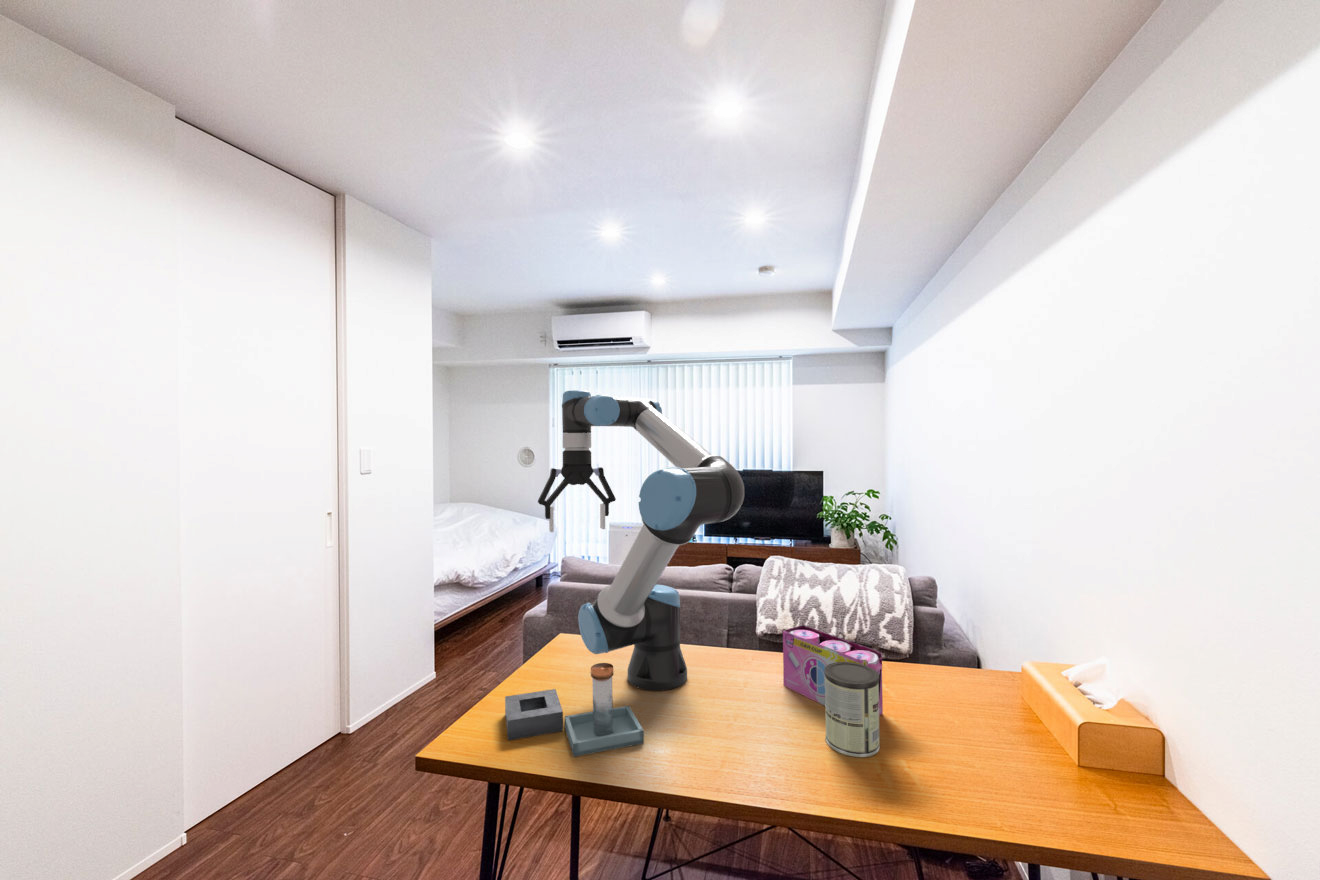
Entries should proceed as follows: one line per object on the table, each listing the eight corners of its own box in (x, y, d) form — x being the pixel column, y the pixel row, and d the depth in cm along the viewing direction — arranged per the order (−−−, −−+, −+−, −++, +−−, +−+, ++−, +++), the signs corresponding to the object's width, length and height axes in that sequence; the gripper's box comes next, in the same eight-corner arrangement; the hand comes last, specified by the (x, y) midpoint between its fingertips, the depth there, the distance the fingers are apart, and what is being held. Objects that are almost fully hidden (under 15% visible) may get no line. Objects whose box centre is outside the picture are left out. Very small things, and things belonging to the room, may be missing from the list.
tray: (629, 716, 119) (629, 705, 119) (643, 743, 108) (643, 730, 108) (564, 728, 114) (564, 716, 114) (573, 756, 104) (573, 743, 104)
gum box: (889, 717, 118) (889, 654, 118) (867, 728, 114) (866, 662, 114) (803, 677, 138) (803, 624, 138) (781, 685, 133) (781, 630, 134)
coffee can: (825, 725, 115) (825, 658, 115) (878, 734, 111) (878, 665, 111) (823, 752, 105) (823, 679, 105) (881, 762, 101) (880, 686, 101)
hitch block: (555, 706, 123) (555, 688, 123) (562, 730, 113) (562, 711, 113) (505, 714, 120) (505, 696, 120) (508, 740, 110) (507, 720, 110)
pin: (611, 723, 114) (609, 661, 114) (617, 734, 110) (615, 669, 110) (589, 728, 113) (588, 665, 113) (595, 739, 108) (593, 673, 108)
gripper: (619, 448, 151) (619, 525, 151) (527, 449, 143) (527, 530, 143) (626, 449, 144) (626, 529, 144) (530, 450, 136) (530, 535, 136)
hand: (577, 530), depth 144 cm, fingers open, 13 cm apart
